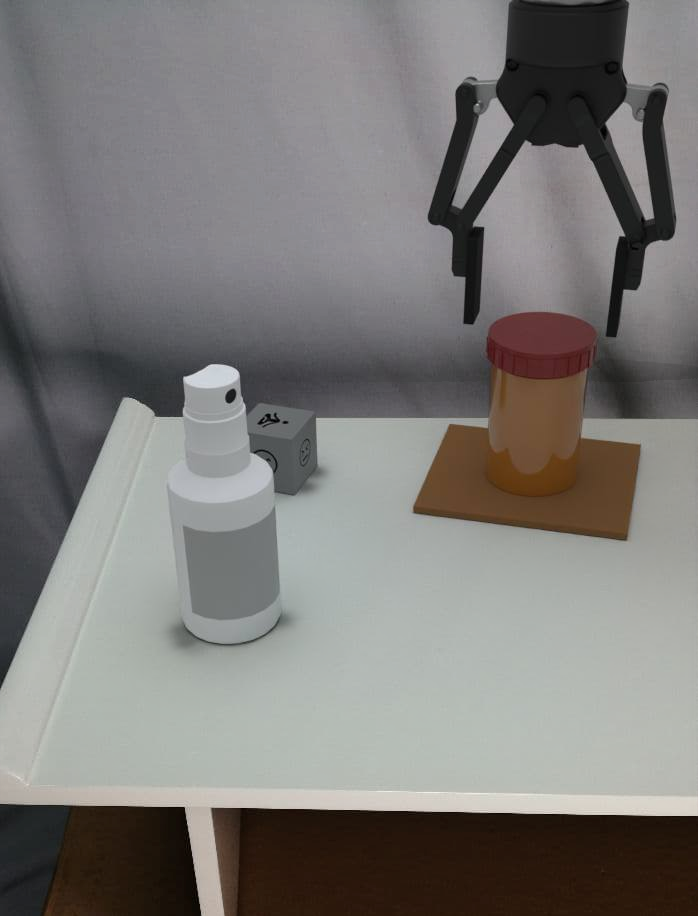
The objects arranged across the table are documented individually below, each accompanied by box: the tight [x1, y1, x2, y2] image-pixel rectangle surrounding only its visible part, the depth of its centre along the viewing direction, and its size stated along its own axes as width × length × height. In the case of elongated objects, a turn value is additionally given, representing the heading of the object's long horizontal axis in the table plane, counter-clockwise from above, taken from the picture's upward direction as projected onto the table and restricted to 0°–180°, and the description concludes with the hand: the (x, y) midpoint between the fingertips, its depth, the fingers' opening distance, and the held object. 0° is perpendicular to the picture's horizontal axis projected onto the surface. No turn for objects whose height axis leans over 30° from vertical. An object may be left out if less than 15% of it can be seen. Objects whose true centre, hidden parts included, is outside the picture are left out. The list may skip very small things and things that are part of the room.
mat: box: [412, 423, 642, 541], centre depth 94 cm, size 16×14×1 cm
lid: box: [485, 311, 598, 378], centre depth 88 cm, size 8×8×2 cm
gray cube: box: [246, 402, 319, 496], centre depth 95 cm, size 5×5×5 cm
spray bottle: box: [166, 363, 282, 645], centre depth 76 cm, size 7×7×18 cm
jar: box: [485, 362, 589, 496], centre depth 91 cm, size 7×7×12 cm
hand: (540, 323), depth 87 cm, fingers open, 10 cm apart
